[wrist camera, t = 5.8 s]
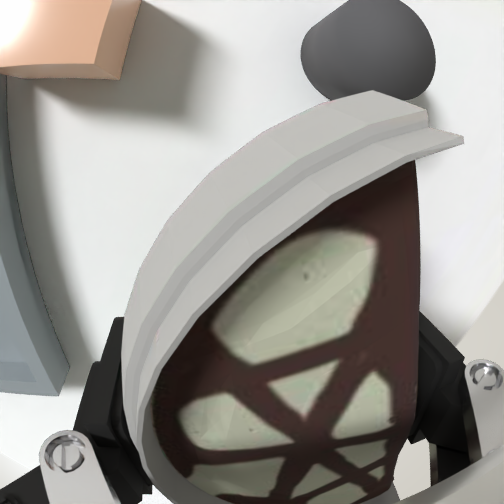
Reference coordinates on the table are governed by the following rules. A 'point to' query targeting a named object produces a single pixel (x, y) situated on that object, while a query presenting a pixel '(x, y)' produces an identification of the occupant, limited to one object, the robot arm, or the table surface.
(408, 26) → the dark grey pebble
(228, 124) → the table surface
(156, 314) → the food container
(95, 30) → the terracotta block
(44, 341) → the tray
